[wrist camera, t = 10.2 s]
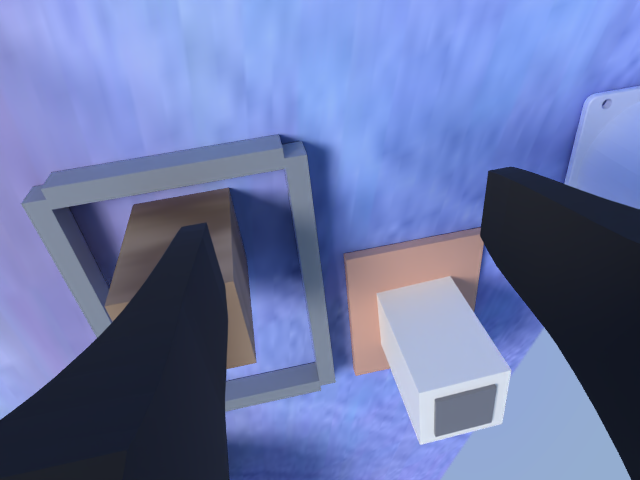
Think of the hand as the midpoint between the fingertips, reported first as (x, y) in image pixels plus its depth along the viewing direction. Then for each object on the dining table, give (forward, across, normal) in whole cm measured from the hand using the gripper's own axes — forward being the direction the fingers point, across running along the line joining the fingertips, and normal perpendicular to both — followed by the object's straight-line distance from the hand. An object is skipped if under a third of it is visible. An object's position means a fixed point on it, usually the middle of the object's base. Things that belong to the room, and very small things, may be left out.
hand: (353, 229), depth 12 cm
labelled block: (+10, -6, +14) cm, 18 cm away
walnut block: (+10, +6, +6) cm, 14 cm away
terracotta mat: (+10, -6, +14) cm, 18 cm away
